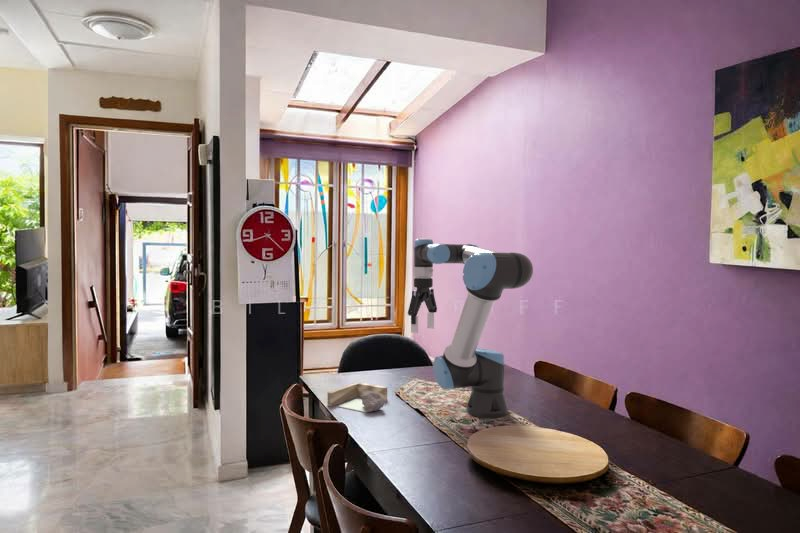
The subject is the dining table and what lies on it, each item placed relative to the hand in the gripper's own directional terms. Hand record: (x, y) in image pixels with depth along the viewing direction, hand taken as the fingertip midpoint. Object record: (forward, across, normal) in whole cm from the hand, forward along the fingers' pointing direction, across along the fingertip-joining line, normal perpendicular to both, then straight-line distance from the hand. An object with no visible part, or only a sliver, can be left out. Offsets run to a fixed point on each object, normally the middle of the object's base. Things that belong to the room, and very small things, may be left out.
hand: (422, 330), depth 212 cm
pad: (+27, -24, +13) cm, 38 cm away
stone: (+26, -24, +11) cm, 37 cm away
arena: (+27, -22, +13) cm, 37 cm away
